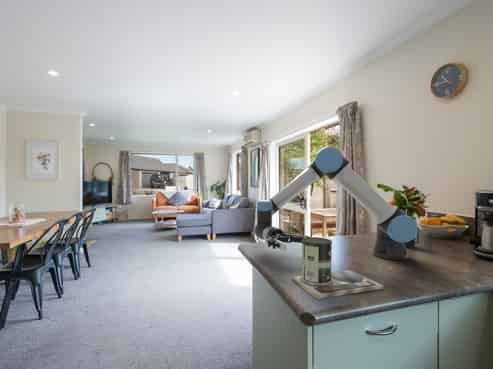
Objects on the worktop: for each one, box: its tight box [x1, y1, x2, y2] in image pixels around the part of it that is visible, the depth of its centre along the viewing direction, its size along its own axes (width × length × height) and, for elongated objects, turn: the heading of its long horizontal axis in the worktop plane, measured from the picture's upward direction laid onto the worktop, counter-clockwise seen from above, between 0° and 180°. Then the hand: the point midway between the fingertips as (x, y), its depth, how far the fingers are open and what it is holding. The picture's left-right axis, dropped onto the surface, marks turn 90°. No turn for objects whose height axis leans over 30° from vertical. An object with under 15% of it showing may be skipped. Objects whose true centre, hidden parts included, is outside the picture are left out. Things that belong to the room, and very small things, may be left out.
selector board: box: [291, 269, 384, 300], centre depth 92 cm, size 26×16×2 cm, turn 109°
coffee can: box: [301, 236, 333, 285], centre depth 92 cm, size 10×10×14 cm
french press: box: [401, 205, 420, 249], centre depth 148 cm, size 12×9×23 cm
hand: (300, 245), depth 101 cm, fingers open, 13 cm apart
